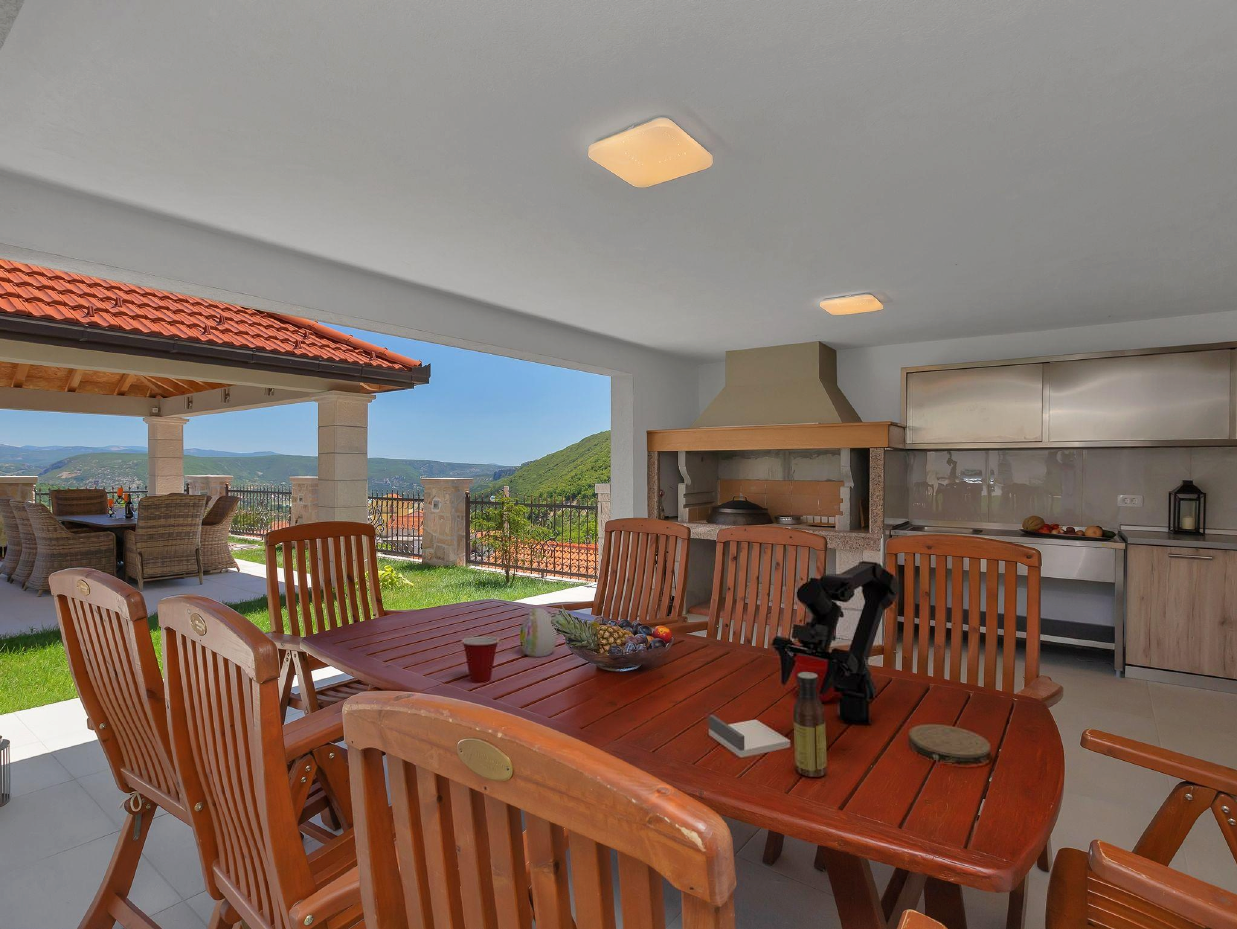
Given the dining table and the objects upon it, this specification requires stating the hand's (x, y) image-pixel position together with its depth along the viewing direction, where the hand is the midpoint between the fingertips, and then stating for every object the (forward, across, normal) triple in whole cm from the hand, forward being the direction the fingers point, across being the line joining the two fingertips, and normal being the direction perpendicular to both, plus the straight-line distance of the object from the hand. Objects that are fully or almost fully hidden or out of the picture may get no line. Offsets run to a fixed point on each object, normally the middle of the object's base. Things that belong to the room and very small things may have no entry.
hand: (801, 689), depth 142 cm
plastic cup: (+25, -91, -10) cm, 95 cm away
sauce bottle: (+15, +6, +2) cm, 17 cm away
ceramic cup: (-10, -12, +35) cm, 38 cm away
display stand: (+13, -11, +5) cm, 18 cm away
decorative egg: (+8, -100, +12) cm, 101 cm away
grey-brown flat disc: (-3, +23, +27) cm, 35 cm away
